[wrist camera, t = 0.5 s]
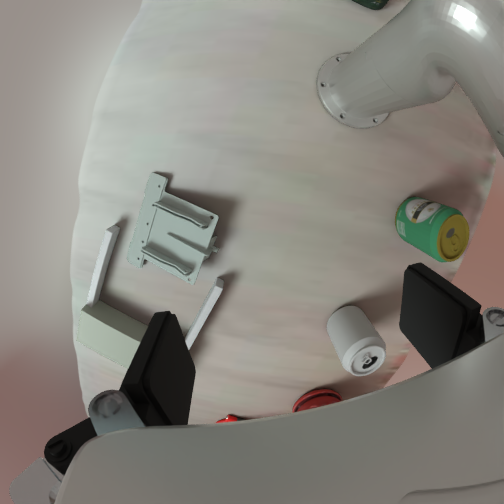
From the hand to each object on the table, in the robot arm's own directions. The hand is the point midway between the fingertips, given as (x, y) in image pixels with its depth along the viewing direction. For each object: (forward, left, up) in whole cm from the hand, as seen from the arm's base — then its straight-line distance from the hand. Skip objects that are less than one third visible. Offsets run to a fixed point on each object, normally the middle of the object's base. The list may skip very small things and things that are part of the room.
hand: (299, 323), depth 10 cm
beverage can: (-11, +25, -31) cm, 41 cm away
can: (+11, +25, -31) cm, 41 cm away
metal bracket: (+10, -9, -32) cm, 34 cm away
